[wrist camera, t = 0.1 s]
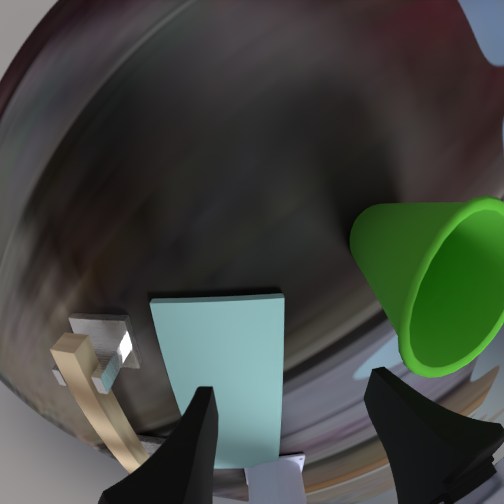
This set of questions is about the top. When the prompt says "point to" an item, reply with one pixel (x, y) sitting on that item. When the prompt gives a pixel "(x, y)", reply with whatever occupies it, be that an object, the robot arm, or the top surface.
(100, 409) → the rail
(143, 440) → the hook stand
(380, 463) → the top surface
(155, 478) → the robot arm
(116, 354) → the hook stand
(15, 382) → the top surface
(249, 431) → the mat
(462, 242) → the cup
